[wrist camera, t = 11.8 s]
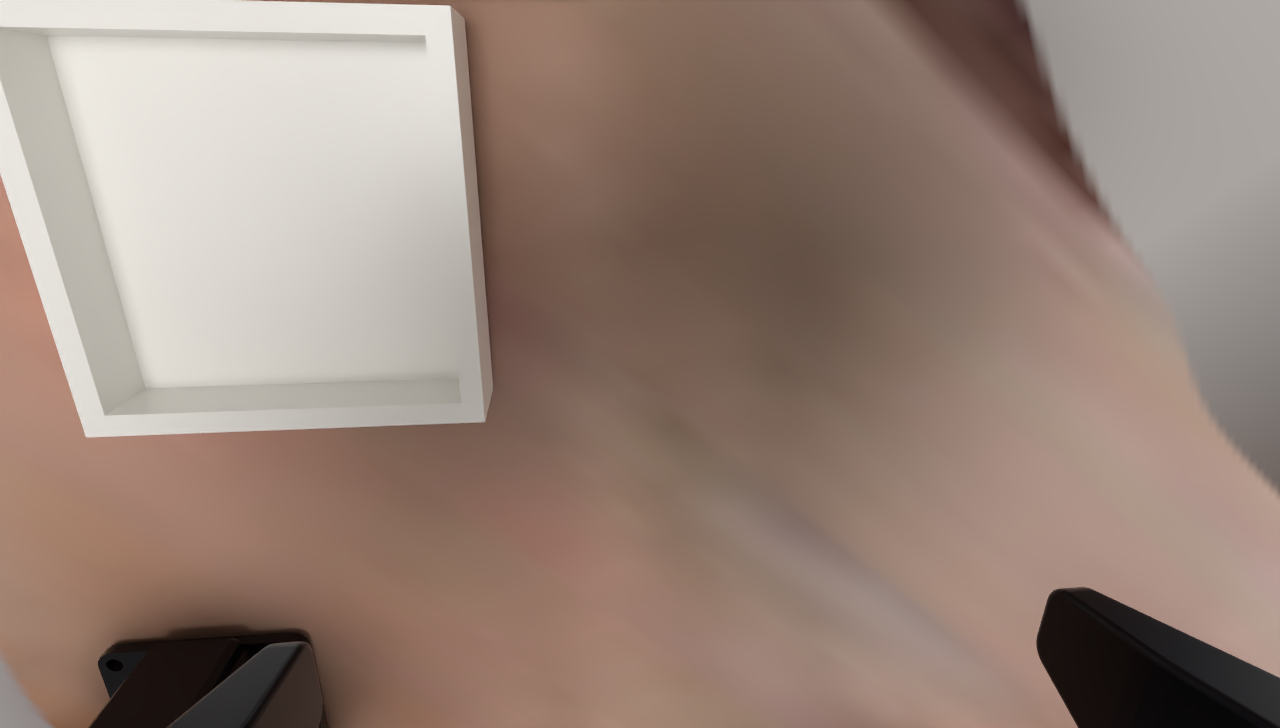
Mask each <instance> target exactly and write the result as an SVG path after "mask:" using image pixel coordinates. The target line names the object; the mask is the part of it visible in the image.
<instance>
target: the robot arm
mask: <svg viewBox="0 0 1280 728" xmlns="http://www.w3.org/2000/svg"><path fill="white" fill-rule="evenodd" d="M1036 643H1037V651H1038V654H1039V657H1040V660H1041V662H1042V664H1043V665H1044V667H1045V669H1046V671H1047V673H1048V674H1049V676H1050V678H1051V680H1052V682H1053V683H1054V685H1055V687H1056V689H1057V690H1058V692H1059V694H1060V696H1061V698H1062V699H1063V701H1064V703H1065V705H1066V707H1067V708H1068V710H1069V712H1070V714H1071V716H1072V717H1073V719H1074V721H1075V723H1076V724H1077V726H1078V728H1280V678H1279V677H1277V676H1275V675H1272V674H1270V673H1268V672H1266V671H1264V670H1262V669H1260V668H1258V667H1255V666H1253V665H1251V664H1249V663H1247V662H1245V661H1243V660H1241V659H1239V658H1236V657H1234V656H1232V655H1230V654H1228V653H1226V652H1224V651H1222V650H1219V649H1217V648H1215V647H1213V646H1211V645H1209V644H1207V643H1205V642H1203V641H1200V640H1198V639H1196V638H1194V637H1192V636H1190V635H1188V634H1186V633H1183V632H1181V631H1179V630H1177V629H1175V628H1173V627H1171V626H1169V625H1167V624H1164V623H1162V622H1160V621H1158V620H1156V619H1154V618H1152V617H1150V616H1148V615H1145V614H1143V613H1141V612H1139V611H1137V610H1135V609H1133V608H1131V607H1128V606H1126V605H1124V604H1122V603H1120V602H1118V601H1116V600H1114V599H1112V598H1109V597H1107V596H1105V595H1103V594H1101V593H1099V592H1097V591H1095V590H1092V589H1090V588H1085V587H1076V588H1062V589H1056V590H1054V591H1053V592H1052V593H1051V594H1050V595H1049V597H1048V600H1047V603H1046V607H1045V610H1044V614H1043V617H1042V621H1041V624H1040V628H1039V631H1038V635H1037V640H1036ZM98 667H99V670H100V672H101V675H102V678H103V680H104V683H105V686H106V689H107V691H108V694H109V697H110V700H109V701H108V702H107V704H106V705H105V706H104V708H103V709H102V710H101V712H100V713H99V714H98V715H97V717H96V718H95V719H94V721H93V722H92V723H91V724H90V726H89V727H88V728H328V726H327V722H326V717H325V713H324V708H323V703H322V693H321V688H320V684H319V679H318V674H317V670H316V665H315V660H314V656H313V652H312V649H311V647H310V644H309V641H308V639H307V638H306V637H305V636H303V635H301V634H299V633H278V634H264V635H249V636H234V637H220V638H205V639H190V640H176V641H161V642H147V643H132V644H118V645H113V646H111V647H110V648H108V649H107V650H106V652H105V653H104V654H103V655H102V656H101V657H100V659H99V661H98Z"/></svg>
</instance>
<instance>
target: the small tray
mask: <svg viewBox="0 0 1280 728" xmlns="http://www.w3.org/2000/svg"><path fill="white" fill-rule="evenodd" d="M0 174H1V177H2V180H3V183H4V186H5V189H6V192H7V196H8V199H9V202H10V205H11V208H12V211H13V214H14V217H15V220H16V223H17V226H18V229H19V232H20V235H21V239H22V242H23V245H24V248H25V251H26V254H27V257H28V260H29V263H30V266H31V269H32V272H33V275H34V279H35V282H36V285H37V288H38V291H39V294H40V297H41V300H42V303H43V306H44V309H45V312H46V315H47V319H48V322H49V325H50V328H51V331H52V334H53V337H54V340H55V343H56V346H57V349H58V352H59V355H60V359H61V362H62V365H63V368H64V371H65V374H66V377H67V380H68V383H69V386H70V389H71V392H72V395H73V399H74V402H75V405H76V408H77V411H78V414H79V417H80V420H81V423H82V426H83V429H84V432H85V435H86V437H111V436H137V435H163V434H189V433H215V432H241V431H267V430H293V429H319V428H345V427H371V426H397V425H423V424H449V423H475V422H485V420H486V416H487V412H488V408H489V405H490V401H491V397H492V393H493V379H492V366H491V353H490V340H489V327H488V314H487V301H486V288H485V275H484V262H483V249H482V236H481V223H480V210H479V197H478V184H477V171H476V158H475V145H474V132H473V119H472V106H471V93H470V80H469V67H468V54H467V41H466V28H465V19H464V18H463V17H462V16H461V15H460V14H459V13H458V12H457V11H456V10H454V9H453V8H452V7H451V6H445V5H404V4H363V3H322V2H282V1H241V0H0Z"/></svg>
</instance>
